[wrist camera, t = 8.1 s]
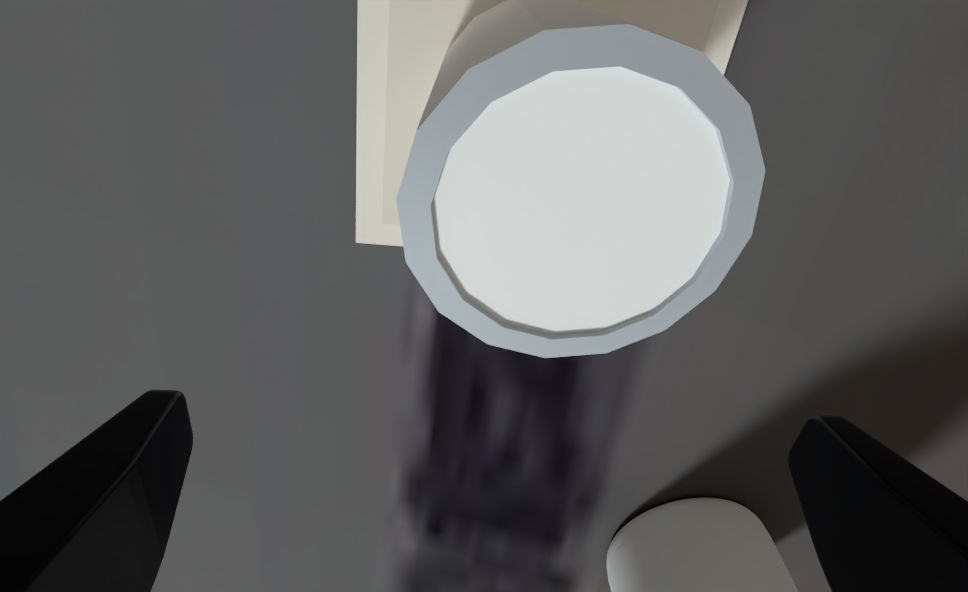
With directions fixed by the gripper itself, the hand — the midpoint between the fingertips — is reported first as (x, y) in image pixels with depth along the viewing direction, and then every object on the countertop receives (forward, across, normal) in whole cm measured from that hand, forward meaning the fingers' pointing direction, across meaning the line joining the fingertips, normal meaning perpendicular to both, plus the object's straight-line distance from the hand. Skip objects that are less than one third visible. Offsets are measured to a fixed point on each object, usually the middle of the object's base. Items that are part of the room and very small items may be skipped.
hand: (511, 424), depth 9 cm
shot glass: (+11, -2, -1) cm, 11 cm away
